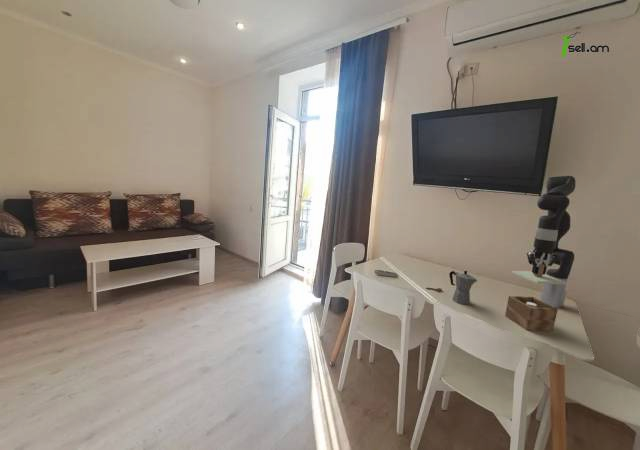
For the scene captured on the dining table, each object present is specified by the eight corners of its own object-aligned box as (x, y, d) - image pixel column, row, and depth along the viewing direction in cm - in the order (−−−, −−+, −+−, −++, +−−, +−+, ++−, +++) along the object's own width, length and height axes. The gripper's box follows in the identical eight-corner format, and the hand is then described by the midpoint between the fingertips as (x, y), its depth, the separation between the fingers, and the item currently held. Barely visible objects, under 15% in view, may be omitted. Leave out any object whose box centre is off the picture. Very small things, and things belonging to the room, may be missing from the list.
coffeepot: (477, 304, 143) (482, 273, 140) (468, 307, 138) (473, 276, 135) (450, 293, 155) (455, 265, 153) (441, 296, 150) (446, 267, 147)
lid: (538, 273, 129) (540, 260, 128) (566, 284, 115) (569, 269, 114) (511, 272, 128) (514, 259, 127) (536, 283, 114) (539, 268, 113)
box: (528, 316, 132) (533, 296, 130) (552, 331, 119) (557, 309, 117) (504, 315, 131) (508, 295, 129) (526, 330, 118) (531, 308, 117)
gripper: (552, 237, 123) (544, 271, 125) (524, 236, 122) (517, 270, 124) (568, 240, 115) (559, 277, 118) (538, 239, 114) (531, 276, 117)
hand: (538, 273), depth 121 cm, fingers closed on lid, 3 cm apart
